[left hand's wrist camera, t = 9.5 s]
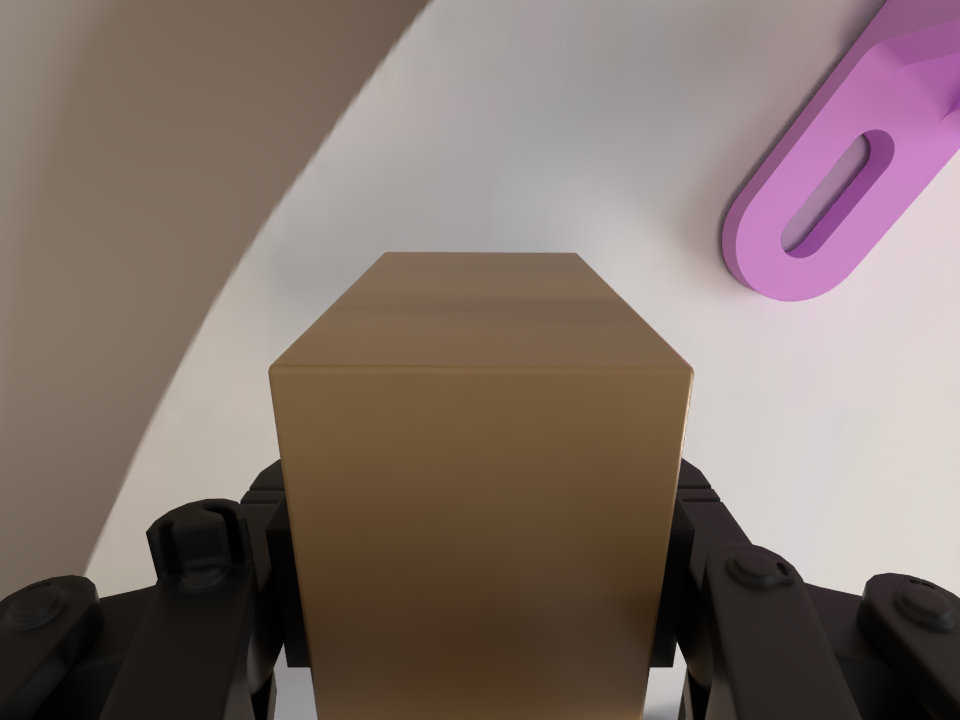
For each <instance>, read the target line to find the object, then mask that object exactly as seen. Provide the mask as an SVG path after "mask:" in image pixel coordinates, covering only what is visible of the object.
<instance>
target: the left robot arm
mask: <svg viewBox="0 0 960 720" xmlns="http://www.w3.org/2000/svg"><path fill="white" fill-rule="evenodd" d="M146 535H147V539H148V543H149V547H150V551H151V555H152V559H153V562H154V566H155V570H156V574H157V578H158V580H157V582H156V585H154V586H150V587H147V588H144V589H140V590H135V591H131V592H126V593H122V594H117V595H113V596H108V597H104V598H99V596H98V593H97V590H96V587H95V584H94V583H92V582H91V581H90V580H89V579H88V578H87V577H81V576H74V575H69V576H61V577H53V578H49V579H46V580H43V581H40V582H36V583H34V584H31V585H29V586H27V587H25V588H23V589H21V590H19V591H17V592H15V593H13V594H11V595H9V596H7V597H6V598H5V599H3V600H2V601H1V602H0V720H274V712H275V703H276V694H277V688H276V681H275V675H274V669H273V668H274V666H275V663H276V661H277V658H278V656H279V653H280V651H281V648H282V646H283V643H284V647H285V654H286V660H287V666H288V667H310V662H309V655H308V648H307V641H306V634H305V626H304V619H303V612H302V605H301V598H300V591H299V584H298V577H297V570H296V563H295V556H294V549H293V542H292V535H291V528H290V521H289V514H288V507H287V500H286V493H285V486H284V479H283V472H282V465H281V459H279V460H277V461H276V462H275V463H273V464H272V465H270V466H269V467H267V468H266V469H264V470H263V471H262V472H260V474H259V475H258V476H257V478H256V479H255V481H254V482H253V484H252V485H251V486H250V490H249V491H247V492H246V494H245V495H244V496H243V498H242V499H241V503H240V504H239V503H238V502H236V501H232V500H228V499H205V500H200V501H196V502H191V503H187V504H185V505H183V506H180V507H178V508H176V509H173V510H171V511H169V512H168V513H166V514H165V515H163V516H162V517H160V518H159V519H157V520H156V521H155V522H154V523H153V524H152V525H151V527H150V528H149V529H148V530H147V532H146ZM677 642H678V645H679V647H680V649H681V652H682V654H683V657H684V659H685V662H686V664H687V669H686V675H685V680H684V686H683V691H682V697H681V703H680V708H679V714H678V720H960V598H959V597H957V596H956V595H955V594H953V593H951V592H949V591H947V590H945V589H943V588H941V587H939V586H937V585H935V584H934V583H932V582H929V581H926V580H923V579H919V578H917V577H913V576H910V575H903V574H895V573H885V574H879V575H874V576H873V577H872V578H871V579H870V580H868V581H867V582H866V585H865V588H864V592H863V595H862V596H858V595H854V594H849V593H845V592H840V591H836V590H831V589H827V588H822V587H818V586H815V585H811V584H808V583H804V581H803V579H802V577H801V576H800V575H799V573H798V572H797V570H796V569H795V567H794V566H793V565H791V564H790V563H789V562H788V561H786V560H785V559H784V558H782V557H781V556H780V555H778V554H776V553H774V552H772V551H770V550H768V549H766V548H763V547H761V546H757V545H753V544H752V543H751V542H750V540H749V539H748V537H747V536H746V535H745V533H744V532H743V530H742V529H741V528H740V526H739V525H738V523H737V522H736V520H735V519H734V518H733V516H732V515H731V513H730V512H729V511H728V509H727V508H726V506H725V505H724V503H723V502H720V498H719V496H718V495H717V494H716V492H715V491H714V489H711V485H710V484H709V482H708V481H707V479H706V478H705V476H704V475H703V474H702V472H701V471H700V470H699V469H697V468H696V467H694V466H693V465H692V464H690V463H689V462H687V461H686V460H684V459H683V458H681V465H680V471H679V478H678V484H677V491H676V498H675V504H674V511H673V518H672V524H671V531H670V538H669V544H668V551H667V558H666V564H665V571H664V577H663V584H662V591H661V597H660V604H659V611H658V617H657V624H656V631H655V637H654V644H653V650H652V657H651V664H650V667H673V662H674V656H675V650H676V644H677Z"/></svg>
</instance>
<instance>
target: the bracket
mask: <svg viewBox="0 0 960 720" xmlns="http://www.w3.org/2000/svg"><path fill="white" fill-rule="evenodd" d="M861 134H864V135H865V136H866V137H867V138H868V140H869V142H870V146H871V153H870V157H869V160H868V162H867V164H866V165H865V167H864V168H863V169H862V171H861V172H860V173H859V174H858V175H857V177H856V178H855V179H854V180H853V181H852V183H851V184H850V185H849V186H848V188H847V189H846V190H845V191H844V192H843V194H842V195H841V196H840V197H839V198H838V200H837V201H836V202H835V203H834V205H833V206H832V207H831V208H830V209H829V211H828V212H827V213H826V214H825V215H824V217H823V218H822V219H821V220H820V222H819V223H818V224H817V225H816V226H815V228H814V229H813V230H812V231H811V232H810V234H809V235H808V236H807V237H806V239H805V240H804V241H803V242H802V243H801V244H800V246H798V247H797V248H796V249H794V250H792V251H790V252H787V253H785V251H784V250H783V248H782V244H781V236H782V232H783V230H784V228H785V226H786V225H787V223H788V222H789V221H790V220H791V218H792V217H793V216H794V215H795V213H796V212H797V211H798V210H799V208H800V207H801V206H802V205H803V203H804V202H805V201H806V200H807V199H808V197H809V196H810V195H811V194H812V192H813V191H814V190H815V189H816V187H817V186H818V185H819V184H820V182H821V181H822V180H823V179H824V177H825V176H826V175H827V174H828V172H829V171H830V170H831V169H832V167H833V166H834V165H835V164H836V162H837V161H838V160H839V159H840V158H841V156H842V155H843V154H844V153H845V151H846V150H847V149H848V148H849V146H850V145H851V144H852V143H853V141H854V140H855V139H856V138H857V137H858V136H860V135H861ZM959 148H960V0H887V1H886V3H885V4H884V5H883V7H882V8H881V9H880V10H879V12H878V13H877V14H876V16H875V17H874V18H873V20H872V21H871V22H870V24H869V25H868V26H867V28H866V29H865V30H864V31H863V33H862V34H861V35H860V37H859V38H858V39H857V41H856V42H855V43H854V45H853V46H852V47H851V49H850V50H849V51H848V52H847V54H846V55H845V56H844V58H843V59H842V60H841V62H840V63H839V64H838V66H837V67H836V68H835V70H834V71H833V72H832V74H831V75H830V76H829V77H828V79H827V80H826V81H825V83H824V84H823V85H822V87H821V88H820V89H819V91H818V92H817V93H816V95H815V96H814V97H813V98H812V100H811V101H810V102H809V104H808V105H807V106H806V108H805V109H804V110H803V112H802V113H801V114H800V116H799V117H798V118H797V119H796V121H795V122H794V123H793V125H792V126H791V127H790V129H789V130H788V131H787V133H786V134H785V135H784V137H783V138H782V139H781V141H780V142H779V143H778V144H777V146H776V147H775V148H774V150H773V151H772V152H771V154H770V155H769V156H768V158H767V159H766V160H765V162H764V163H763V164H762V165H761V167H760V168H759V169H758V171H757V172H756V173H755V175H754V176H753V177H752V179H751V180H750V181H749V183H748V184H747V185H746V186H745V188H744V189H743V190H742V192H741V193H740V194H739V196H738V197H737V198H736V200H735V201H734V203H733V205H732V206H731V208H730V210H729V212H728V215H727V217H726V220H725V223H724V227H723V233H722V250H723V255H724V259H725V262H726V264H727V266H728V268H729V270H730V272H731V273H732V275H733V276H734V277H735V278H736V279H737V280H738V281H739V282H740V283H742V284H743V285H744V286H746V287H748V288H750V289H752V290H754V291H756V292H758V293H760V294H762V295H764V296H766V297H769V298H772V299H775V300H779V301H802V300H807V299H811V298H814V297H817V296H819V295H822V294H824V293H826V292H828V291H829V290H831V289H832V288H834V287H836V286H837V285H838V284H840V283H841V282H842V281H843V280H844V279H845V278H847V277H848V275H849V274H850V273H851V272H852V271H853V270H854V269H855V268H856V267H857V265H858V264H859V263H860V262H861V261H862V260H863V259H864V257H865V256H866V255H867V254H868V253H869V252H870V251H871V249H872V248H873V247H874V246H875V245H876V244H877V243H878V241H879V240H880V239H881V238H882V237H883V236H884V234H885V233H886V232H887V231H888V230H889V229H890V228H891V226H892V225H893V224H894V223H895V222H896V221H897V220H898V218H899V217H900V216H901V215H902V214H903V213H904V212H905V210H906V209H907V208H908V207H909V206H910V205H911V203H912V202H913V201H914V200H915V199H916V198H917V197H918V195H919V194H920V193H921V192H922V191H923V190H924V189H925V187H926V186H927V185H928V184H929V183H930V182H931V181H932V179H933V178H934V177H935V176H936V175H937V174H938V172H939V171H940V170H941V169H942V168H943V167H944V166H945V164H946V163H947V162H948V161H949V160H950V159H951V158H952V156H953V155H954V154H955V153H956V152H957V151H958V149H959Z"/></svg>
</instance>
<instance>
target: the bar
mask: <svg viewBox="0 0 960 720" xmlns="http://www.w3.org/2000/svg"><path fill="white" fill-rule="evenodd" d="M268 373H269V381H270V388H271V395H272V402H273V409H274V416H275V423H276V430H277V437H278V444H279V451H280V458H281V465H282V472H283V479H284V486H285V493H286V500H287V507H288V514H289V521H290V528H291V535H292V542H293V549H294V556H295V563H296V570H297V577H298V584H299V591H300V598H301V605H302V612H303V619H304V626H305V634H306V641H307V648H308V655H309V662H310V669H311V676H312V683H313V690H314V697H315V704H316V711H317V718H318V720H642V717H643V710H644V704H645V697H646V690H647V684H648V677H649V670H650V664H651V657H652V650H653V644H654V637H655V631H656V624H657V617H658V611H659V604H660V597H661V591H662V584H663V577H664V571H665V564H666V558H667V551H668V544H669V538H670V531H671V524H672V518H673V511H674V504H675V498H676V491H677V484H678V478H679V471H680V465H681V458H682V451H683V445H684V438H685V431H686V425H687V418H688V411H689V405H690V398H691V392H692V385H693V378H694V371H693V368H692V367H691V366H690V365H689V364H688V363H687V362H686V361H685V360H684V359H683V358H682V357H681V356H680V355H679V354H678V353H677V352H676V351H675V350H674V349H673V348H672V347H671V346H670V345H669V344H668V343H667V342H666V341H665V340H664V339H663V338H662V337H661V336H660V335H659V334H658V333H657V332H656V331H655V330H654V329H653V328H652V327H651V326H650V325H649V324H648V323H647V322H646V321H645V320H644V319H643V318H642V317H641V316H640V315H638V314H637V313H636V312H635V311H634V310H633V309H632V308H631V307H630V306H629V305H628V304H627V303H626V302H625V301H624V300H623V299H622V298H621V297H620V296H619V295H618V294H617V293H616V292H615V291H614V290H613V289H612V288H611V287H610V286H609V285H608V284H607V283H606V282H605V281H604V280H603V279H602V278H601V277H600V276H599V275H598V274H597V273H596V272H595V271H594V270H593V269H592V268H591V267H590V266H589V265H588V264H587V263H586V262H585V261H584V260H583V259H582V258H581V257H580V256H579V255H578V254H576V253H455V252H387V253H384V254H383V255H382V256H381V257H380V258H379V259H378V260H377V261H376V262H375V263H374V264H373V265H372V266H371V267H370V268H369V269H368V270H367V271H366V272H365V273H364V274H363V275H362V276H361V277H360V278H359V279H358V280H357V281H356V282H355V283H354V284H353V285H352V286H351V287H350V288H349V289H348V290H347V291H346V292H345V293H344V294H343V295H342V296H341V297H340V298H339V299H338V300H337V301H336V302H335V303H334V304H333V305H332V306H331V307H330V308H329V309H328V310H327V311H326V312H325V313H324V314H323V315H322V316H321V317H320V318H319V319H318V320H317V321H316V322H315V323H314V324H313V325H312V326H311V327H309V328H308V329H307V330H306V331H305V332H304V333H303V334H302V335H301V336H300V337H299V338H298V339H297V340H296V341H295V342H294V343H293V344H292V345H291V346H290V347H289V348H288V349H287V350H286V351H285V352H284V353H283V354H282V355H281V356H280V357H279V358H278V359H277V360H276V361H275V362H274V363H273V364H272V365H271V366H270V368H269V371H268Z"/></svg>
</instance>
